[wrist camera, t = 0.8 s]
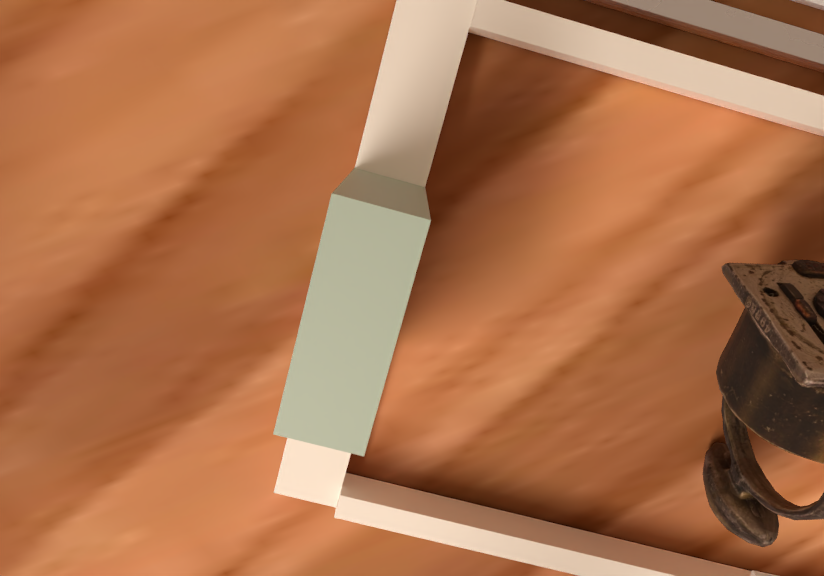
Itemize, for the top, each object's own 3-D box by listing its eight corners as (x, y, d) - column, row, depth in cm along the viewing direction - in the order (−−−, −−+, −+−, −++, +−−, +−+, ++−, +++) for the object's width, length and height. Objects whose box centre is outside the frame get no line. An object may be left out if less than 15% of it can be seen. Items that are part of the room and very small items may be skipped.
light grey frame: (278, 479, 33) (226, 625, 24) (403, -21, 27) (399, -86, 18) (867, 620, 35) (1031, 805, 26) (1099, 186, 29) (1418, 224, 20)
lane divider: (435, -44, 27) (437, -53, 26) (442, -71, 27) (444, -81, 25) (1065, 145, 29) (1100, 147, 28) (1077, 122, 29) (1113, 123, 27)
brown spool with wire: (824, 214, 30) (1024, 267, 20) (837, 470, 33) (1014, 621, 23) (660, 247, 30) (779, 314, 20) (689, 497, 33) (803, 657, 24)
